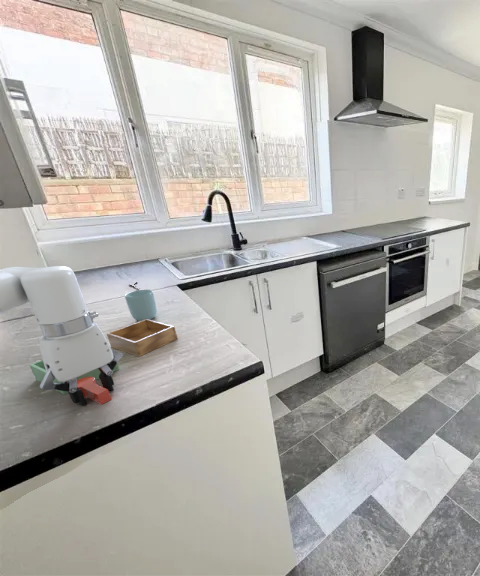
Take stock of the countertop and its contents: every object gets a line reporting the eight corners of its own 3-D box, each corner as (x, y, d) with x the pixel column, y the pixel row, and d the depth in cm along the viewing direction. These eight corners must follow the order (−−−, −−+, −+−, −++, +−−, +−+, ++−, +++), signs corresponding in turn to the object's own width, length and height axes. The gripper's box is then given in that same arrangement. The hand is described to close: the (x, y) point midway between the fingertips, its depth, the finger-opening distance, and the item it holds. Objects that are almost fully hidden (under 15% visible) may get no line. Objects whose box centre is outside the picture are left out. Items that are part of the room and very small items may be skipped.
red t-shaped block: (117, 396, 71) (114, 386, 70) (94, 408, 67) (90, 398, 66) (92, 384, 76) (88, 374, 75) (69, 395, 72) (65, 385, 71)
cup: (163, 313, 116) (156, 288, 113) (152, 322, 109) (144, 296, 106) (140, 315, 115) (132, 290, 112) (128, 324, 108) (119, 297, 104)
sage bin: (64, 394, 72) (57, 378, 71) (36, 380, 78) (29, 364, 76) (119, 369, 82) (114, 354, 80) (90, 357, 87) (85, 343, 86)
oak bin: (138, 356, 87) (134, 342, 86) (111, 346, 93) (106, 333, 91) (177, 339, 97) (174, 326, 95) (150, 331, 103) (146, 318, 101)
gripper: (105, 307, 74) (127, 372, 80) (0, 339, 59) (37, 416, 65) (123, 312, 71) (144, 379, 77) (17, 347, 56) (54, 426, 62)
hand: (95, 395), depth 71 cm, fingers open, 4 cm apart
